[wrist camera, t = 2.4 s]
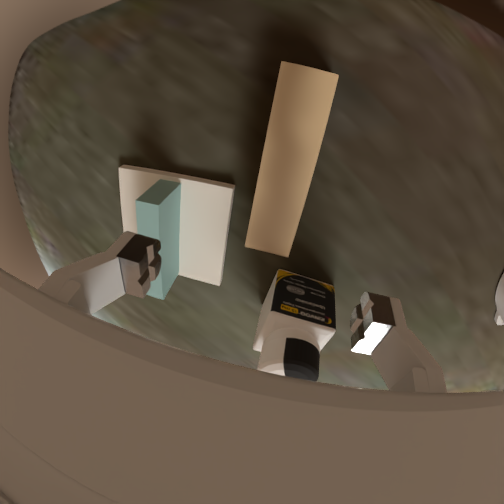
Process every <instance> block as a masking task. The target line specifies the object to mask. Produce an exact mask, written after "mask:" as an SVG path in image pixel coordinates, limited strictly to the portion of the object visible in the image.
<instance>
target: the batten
mask: <svg viewBox="0 0 504 504" xmlns="http://www.w3.org/2000/svg"><path fill="white" fill-rule="evenodd" d="M338 77H339V75H337V74H334V73H330V72H327V71H323V70H319V69H315V68H311V67H307V66H303V65H298V64H294V63H289V62H284V61H281V66H280V71H279V76H278V80H277V85H276V90H275V95H274V100H273V105H272V110H271V115H270V120H269V125H268V130H267V135H266V140H265V145H264V150H263V155H262V160H261V165H260V170H259V175H258V180H257V186H256V191H255V196H254V201H253V206H252V211H251V217H250V222H249V227H248V232H247V237H246V243H245V247H249V248H253V249H257V250H261V251H265V252H269V253H273V254H277V255H281V256H285V257H288V256H289V253H290V250H291V246H292V243H293V240H294V237H295V233H296V230H297V227H298V224H299V220H300V217H301V214H302V210H303V207H304V203H305V200H306V197H307V193H308V190H309V186H310V183H311V179H312V176H313V172H314V169H315V165H316V161H317V158H318V154H319V151H320V147H321V143H322V139H323V136H324V132H325V128H326V124H327V121H328V117H329V113H330V109H331V105H332V101H333V97H334V93H335V89H336V85H337V81H338Z"/></svg>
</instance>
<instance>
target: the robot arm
mask: <svg viewBox="0 0 504 504" xmlns="http://www.w3.org/2000/svg"><path fill="white" fill-rule="evenodd" d="M160 249H161V242H160V241H159V240H158V239H154V238H151V237H147V236H144V235H141V234H136V233H133V232H130V231H125V232H124V233H123V234H122V235H121V236H120V237H119V238H118V239H117V240H116V241H115V242H114V243H113V244H112V245H111V247H110V248H109V249H108V250H107V251H106V252H105V253H103V252H101V253H98V254H96V255H93V256H90V257H88V258H85V259H83V260H80V261H78V262H75V263H73V264H70V265H68V266H65V267H63V268H60V269H58V270H55V271H54V272H53V273H52V274H51V275H50V276H49V277H48V279H47V280H46V281H45V282H44V283H43V284H42V286H41V287H40V288H39V289H36V288H34V287H32V286H30V285H29V284H27V283H25V282H23V281H21V280H20V279H18V278H16V277H14V276H13V275H11V274H9V273H7V272H6V271H4V270H3V269H1V268H0V504H504V391H489V392H469V393H447V390H446V385H445V380H444V375H443V371H442V368H441V367H440V366H439V364H438V363H437V362H436V360H435V359H434V358H433V357H432V355H431V354H430V353H429V352H428V350H427V349H426V348H425V347H424V346H423V344H422V343H421V342H420V341H419V339H418V338H417V337H416V336H415V335H414V333H413V332H412V331H411V330H410V329H407V325H406V321H405V317H404V313H403V309H402V306H401V302H400V300H399V299H398V298H394V297H389V296H383V295H379V294H374V293H370V292H365V293H364V294H363V295H362V297H361V298H360V299H361V304H359V305H357V306H356V307H355V309H354V310H353V312H352V315H351V320H350V329H351V330H352V331H353V333H354V334H353V335H352V337H351V347H352V351H355V352H360V353H365V354H371V355H370V356H371V358H372V360H373V362H374V363H375V365H376V367H377V369H378V371H379V372H380V374H381V376H382V378H383V380H384V382H385V383H386V385H387V387H388V389H389V391H388V390H377V389H367V388H358V387H349V386H342V385H335V384H328V383H321V382H315V381H309V380H303V379H298V378H292V377H287V376H282V375H277V374H273V373H268V372H263V371H259V370H255V369H251V368H246V367H242V366H238V365H234V364H231V363H227V362H223V361H219V360H216V359H212V358H209V357H205V356H202V355H198V354H195V353H192V352H189V351H185V350H182V349H179V348H176V347H173V346H170V345H167V344H164V343H161V342H158V341H155V340H152V339H150V338H147V337H144V336H141V335H139V334H136V333H133V332H131V331H128V330H126V329H123V328H120V327H118V326H115V325H113V324H111V323H108V322H106V321H103V320H101V319H99V318H96V317H94V316H92V315H91V314H93V313H95V312H96V311H98V310H99V309H101V308H103V307H104V306H106V305H108V304H109V303H111V302H112V301H114V300H116V299H117V298H119V297H121V296H122V295H124V294H125V293H128V294H131V295H134V296H137V297H140V298H144V297H145V295H146V294H147V292H148V291H149V289H150V288H151V284H150V282H151V281H154V280H156V278H157V276H158V275H159V272H160V269H161V263H162V260H161V256H160V255H159V253H158V252H159V251H160ZM495 301H496V306H497V311H496V314H495V318H494V320H495V322H496V323H497V325H504V273H503V275H502V277H501V279H500V281H499V284H498V287H497V290H496V295H495Z"/></svg>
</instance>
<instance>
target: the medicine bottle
mask: <svg viewBox="0 0 504 504" xmlns="http://www.w3.org/2000/svg"><path fill="white" fill-rule="evenodd" d="M335 331H336V319H335V292H334V286H333V285H330V284H327V283H323V282H320V281H317V280H314V279H311V278H308V277H305V276H302V275H299V274H295V273H292V272H289V271H286V270H283V269H278V271H277V273H276V275H275V277H274V280H273V282H272V284H271V287H270V289H269V291H268V293H267V296H266V298H265V300H264V303H263V305H262V308H261V312H260V317H259V321H258V326H257V330H256V334H255V339H254V343H253V349H254V350H257V351H260V352H261V354H260V359H259V364H258V369H257V370H259V371H263V372H268V373H273V374H277V375H282V376H287V377H292V378H298V379H303V380H309V381H315V382H316V381H317V379H318V376H319V358H320V350H321V349H322V348H323V347H324V346H325V344H326V343H327V342H328V341H329V340H330V338H331V337H332V336H333V335H334V333H335Z"/></svg>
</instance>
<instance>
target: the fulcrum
mask: <svg viewBox="0 0 504 504" xmlns="http://www.w3.org/2000/svg"><path fill="white" fill-rule="evenodd" d="M119 184H120V198H121V210H122V221H123V230H124V232H125V231H130V232H133V233H136V234H141V235H144V236H147V237H151V238H154V239H158V240H159V241H160V242H161V249H160V251H159V252H158V253H159V255H160V256H161V260H162V263H161V269H160V272H159V275H158V276H157V278H156V280H154V281H151V282H150V284H151V288H150V289H149V291H148V292H147V294H146V295H149V296H152V297H155V298H159V299H162V300H164V298H165V296H166V294H167V293H168V291H169V289H170V287H171V286H172V284H173V282H174V280H175V279H176V277H177V275H181V276H185V277H188V278H192V279H196V280H199V281H203V282H207V283H210V284H214V285H218V286H220V284H221V281H222V275H223V267H224V260H225V253H226V245H227V238H228V231H229V224H230V217H231V211H232V204H233V197H234V191H235V185H233V184H228V183H223V182H219V181H214V180H209V179H204V178H199V177H194V176H189V175H183V174H178V173H172V172H167V171H161V170H155V169H149V168H143V167H137V166H130V165H122V166H121V167H119Z"/></svg>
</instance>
